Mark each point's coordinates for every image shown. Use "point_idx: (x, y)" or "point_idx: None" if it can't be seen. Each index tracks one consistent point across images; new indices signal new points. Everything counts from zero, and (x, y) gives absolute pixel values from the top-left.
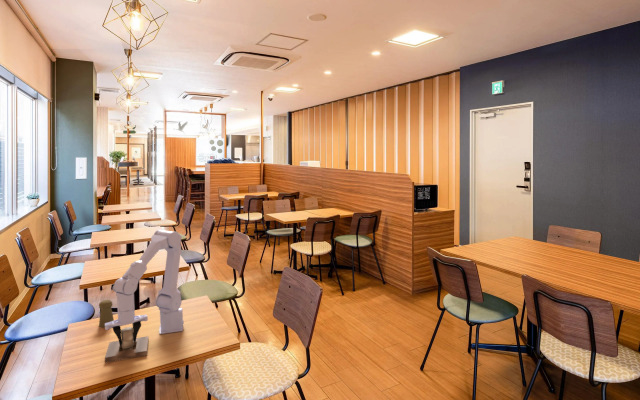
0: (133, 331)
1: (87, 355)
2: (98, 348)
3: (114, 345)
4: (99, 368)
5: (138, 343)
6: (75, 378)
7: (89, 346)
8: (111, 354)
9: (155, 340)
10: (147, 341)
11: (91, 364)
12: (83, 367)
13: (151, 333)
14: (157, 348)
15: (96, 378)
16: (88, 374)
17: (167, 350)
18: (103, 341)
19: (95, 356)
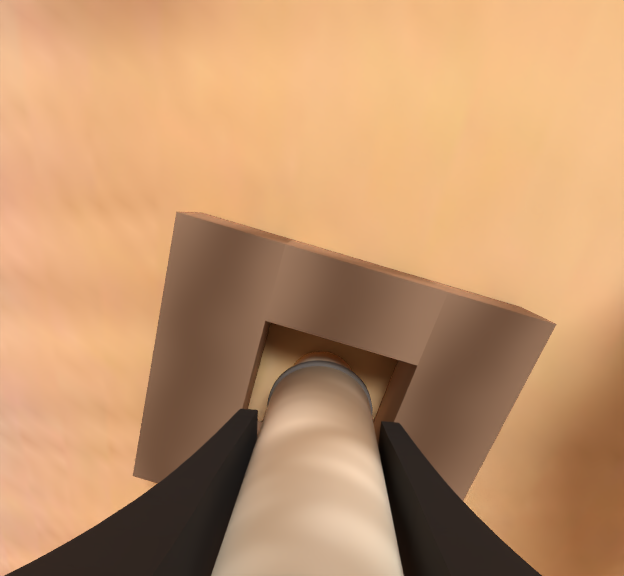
0: (413, 540)
1: (38, 260)
2: (111, 182)
3: (215, 321)
4: (127, 484)
5: (415, 415)
6: (9, 504)
7: (33, 81)
8: (181, 460)
9: (573, 336)
10: (498, 426)
11: (78, 410)
12: (34, 416)
13: (620, 155)
14: (520, 471)
15: None
16: (71, 507)
17: (564, 536)
18: (152, 40)
19: (96, 314)
